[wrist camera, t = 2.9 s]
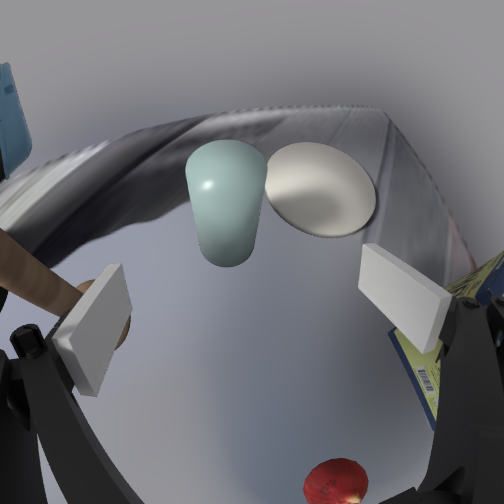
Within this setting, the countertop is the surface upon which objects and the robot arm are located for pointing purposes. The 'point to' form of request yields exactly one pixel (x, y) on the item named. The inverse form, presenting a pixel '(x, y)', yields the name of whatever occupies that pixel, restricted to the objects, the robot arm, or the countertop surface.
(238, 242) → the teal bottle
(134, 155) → the countertop surface
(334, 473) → the red fruit
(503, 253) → the protein box
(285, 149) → the cream plate
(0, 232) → the walnut post
